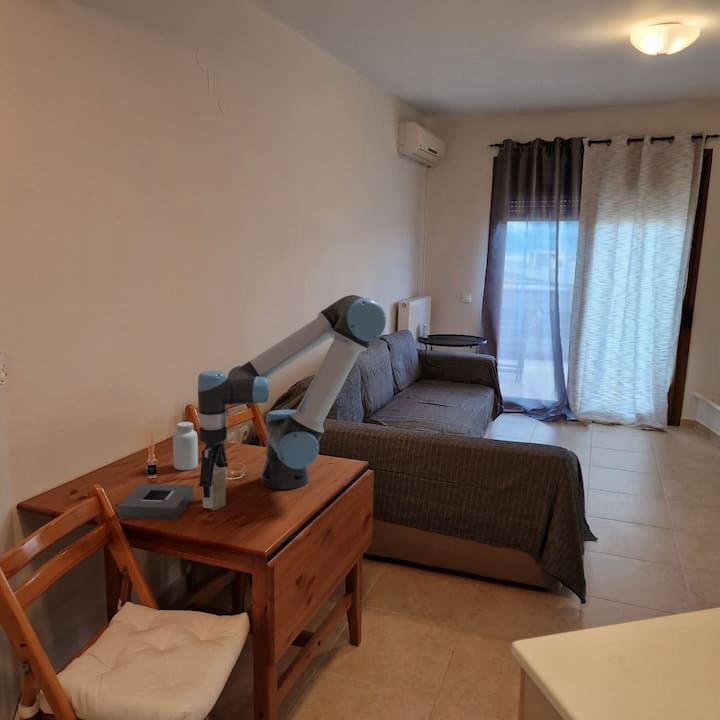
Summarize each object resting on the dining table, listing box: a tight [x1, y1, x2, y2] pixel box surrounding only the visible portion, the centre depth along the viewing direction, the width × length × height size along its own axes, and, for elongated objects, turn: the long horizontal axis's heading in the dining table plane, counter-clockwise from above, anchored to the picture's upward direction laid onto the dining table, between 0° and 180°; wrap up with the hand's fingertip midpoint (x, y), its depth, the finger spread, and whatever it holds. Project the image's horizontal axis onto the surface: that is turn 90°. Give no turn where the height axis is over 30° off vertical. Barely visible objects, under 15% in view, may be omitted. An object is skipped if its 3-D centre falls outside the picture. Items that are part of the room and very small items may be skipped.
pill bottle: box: [172, 421, 199, 471], centre depth 208 cm, size 8×8×15 cm
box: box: [206, 465, 227, 511], centre depth 178 cm, size 5×4×11 cm
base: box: [117, 483, 195, 521], centre depth 178 cm, size 16×16×4 cm
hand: (214, 497), depth 179 cm, fingers open, 12 cm apart
